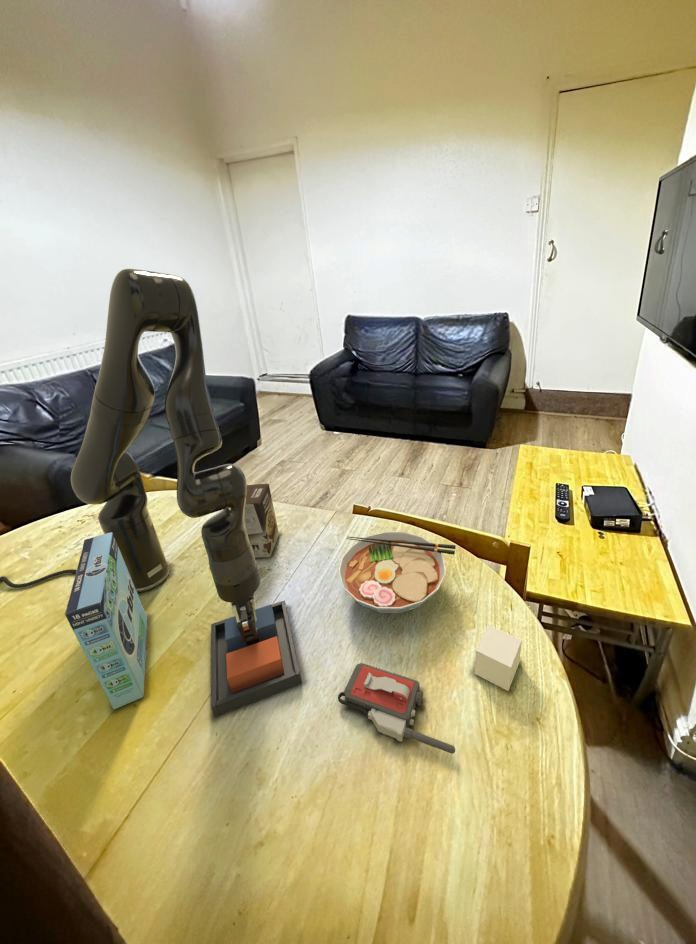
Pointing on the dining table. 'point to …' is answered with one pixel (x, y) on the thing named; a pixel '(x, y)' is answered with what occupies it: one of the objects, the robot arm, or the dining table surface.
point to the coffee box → (260, 520)
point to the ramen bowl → (393, 571)
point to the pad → (254, 664)
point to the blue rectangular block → (263, 624)
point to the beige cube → (498, 657)
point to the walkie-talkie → (388, 703)
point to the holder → (229, 701)
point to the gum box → (109, 620)
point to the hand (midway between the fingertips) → (252, 634)
